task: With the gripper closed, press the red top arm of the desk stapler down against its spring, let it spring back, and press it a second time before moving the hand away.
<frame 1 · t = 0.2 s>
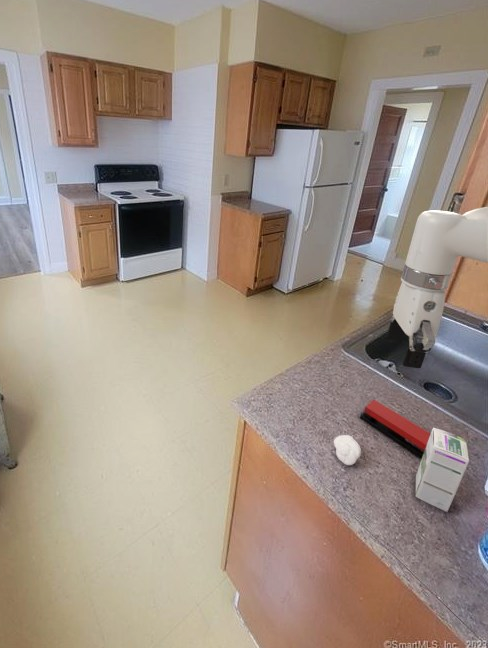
hand: (402, 351, 67), 28 cm above the worktop, tool pointing down, fingers open, 9 cm apart
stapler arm: (398, 423, 80), point 3 cm above the worktop, hinge at 0.1°
syrup box: (429, 493, 67), on the worktop
dumpling: (344, 455, 75), on the worktop
stapler base: (395, 434, 81), on the worktop
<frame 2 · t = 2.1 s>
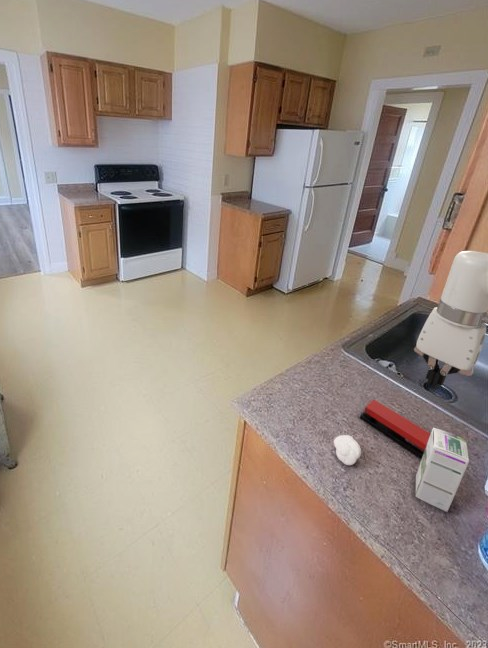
hand: (433, 384, 71), 19 cm above the worktop, tool pointing down, fingers closed
nothing on the worktop moved.
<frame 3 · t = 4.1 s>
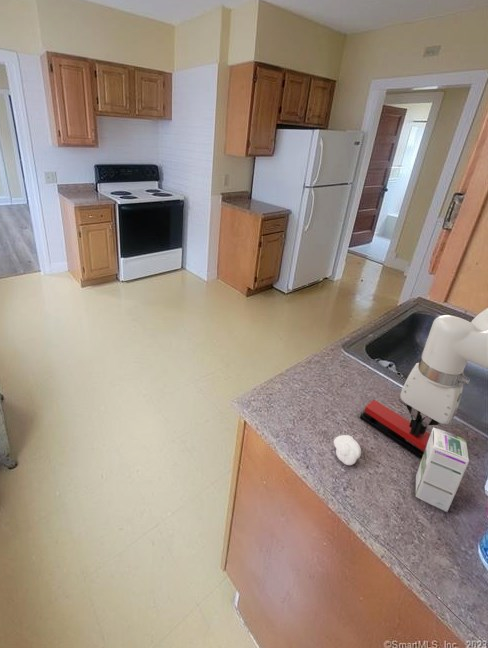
hand: (415, 432, 77), 4 cm above the worktop, tool pointing down, fingers closed
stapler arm: (398, 424, 80), point 3 cm above the worktop, hinge at -0.9°, touching gripper
everything else where it was.
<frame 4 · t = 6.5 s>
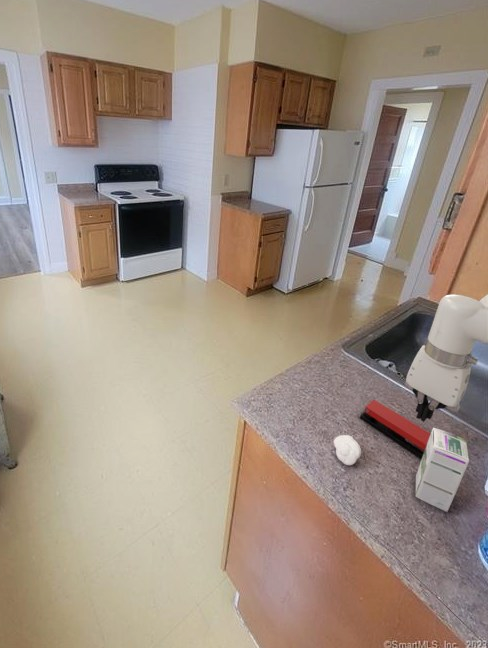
hand: (422, 417, 75), 9 cm above the worktop, tool pointing down, fingers closed
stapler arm: (398, 423, 80), point 3 cm above the worktop, hinge at 0.1°
everything else where it was.
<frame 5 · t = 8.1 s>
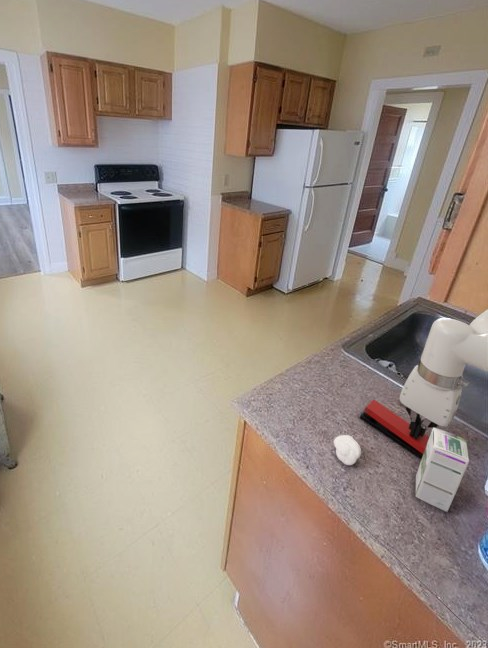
hand: (415, 434, 77), 3 cm above the worktop, tool pointing down, fingers closed
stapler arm: (397, 425, 80), point 3 cm above the worktop, hinge at -4.8°, touching gripper, stapler base
everything else where it was.
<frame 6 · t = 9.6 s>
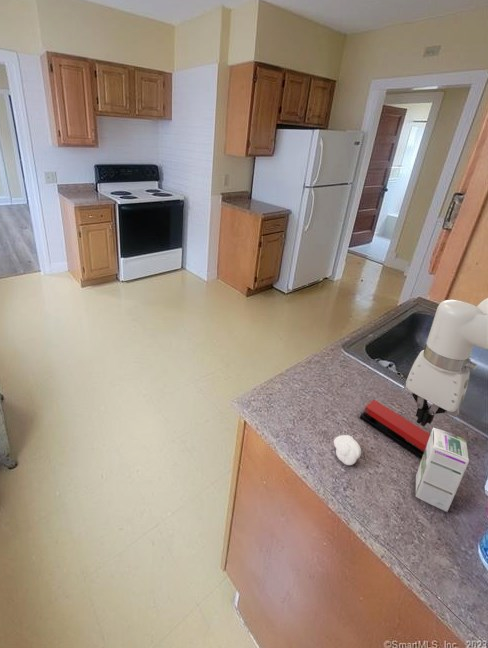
hand: (422, 421, 75), 8 cm above the worktop, tool pointing down, fingers closed
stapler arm: (398, 424, 80), point 3 cm above the worktop, hinge at -0.9°
everything else where it was.
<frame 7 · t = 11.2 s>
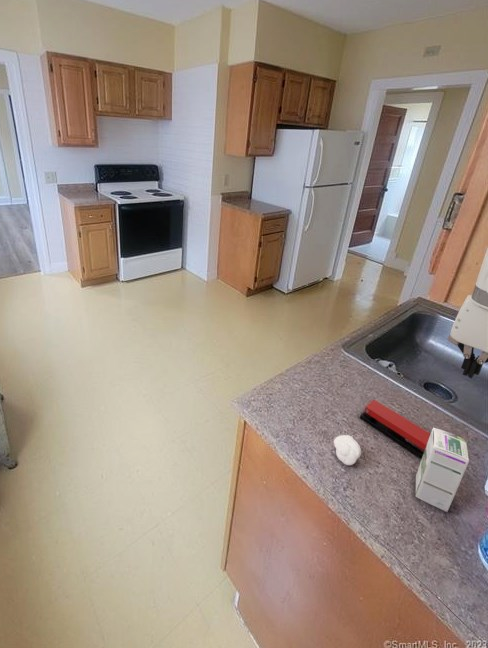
hand: (468, 373, 70), 22 cm above the worktop, tool pointing down, fingers closed
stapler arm: (398, 423, 80), point 3 cm above the worktop, hinge at 0.1°
everything else where it was.
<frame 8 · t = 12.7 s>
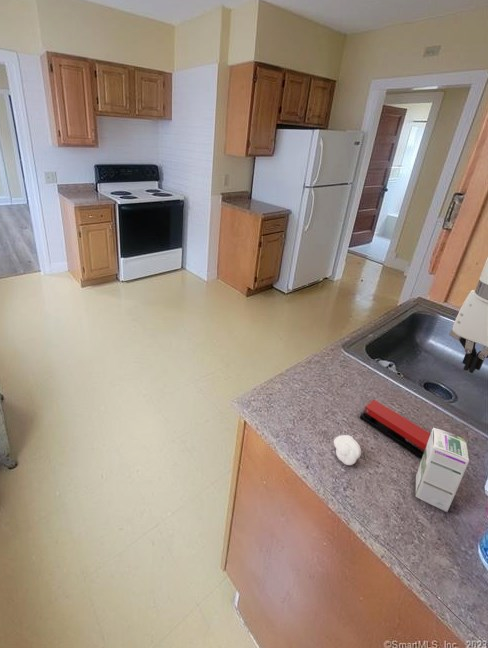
hand: (469, 368, 70), 23 cm above the worktop, tool pointing down, fingers closed
nothing on the worktop moved.
at the end: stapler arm reached -5° during the clip, +0° at the end; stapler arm at +0° (first picture: +0°) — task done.
